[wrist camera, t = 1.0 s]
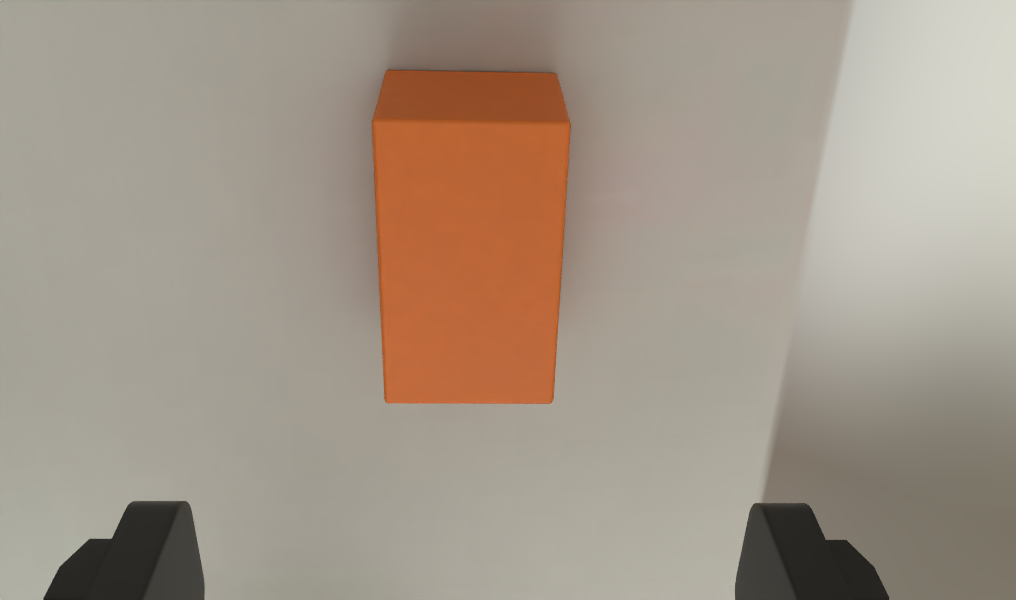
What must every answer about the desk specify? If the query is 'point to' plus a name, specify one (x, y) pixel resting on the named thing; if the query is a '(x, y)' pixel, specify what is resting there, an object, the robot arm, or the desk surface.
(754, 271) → the desk surface
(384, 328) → the block
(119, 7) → the desk surface
